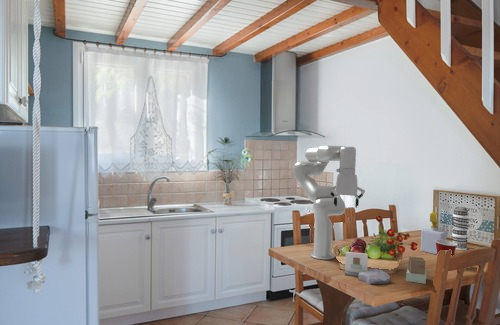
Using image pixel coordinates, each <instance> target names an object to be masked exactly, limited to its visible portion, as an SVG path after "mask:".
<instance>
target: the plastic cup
mask: <svg viewBox="0 0 500 325" xmlns="http://www.w3.org/2000/svg"><path fill="white" fill-rule="evenodd" d="M435 243H436V249H437V254H438V252H439V251H440V250H449V249H451V250H452V254H451V255H452V256H453V255H455V251H456V250H457V249H456V246H457V245H458V244H457V243H455V242H452V240H440V239H437V240H435ZM453 257H454V256H453Z"/></svg>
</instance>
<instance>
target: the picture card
mask: <svg viewBox="0 0 500 325" xmlns="http://www.w3.org/2000/svg"><path fill="white" fill-rule="evenodd" d="M368 257H369V254H368V253H363V252H351V251H346V252H345V259H344V260H345V261H344V262H345V263H344V264H345V265H344V276H351V277H358V276H359V273H360V272H367V271H368V265H369V264H368V263H369V260H368V259H369V258H368Z"/></svg>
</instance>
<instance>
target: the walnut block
mask: <svg viewBox="0 0 500 325" xmlns="http://www.w3.org/2000/svg"><path fill="white" fill-rule="evenodd" d="M407 260H408V261H407V269H408V270H409V272H410V273H415V274H425V271H426V260H425V259H424V257H421V256H412V255H411V256H409V255H408V259H407Z"/></svg>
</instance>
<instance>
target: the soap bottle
mask: <svg viewBox="0 0 500 325" xmlns="http://www.w3.org/2000/svg"><path fill="white" fill-rule="evenodd" d="M438 214H439V212H437V211H432V212H431V213H430V214H429V222H431V224H432V225H431V226H430V228H424V229H421V234H420V251H421V252H425V253H428V254H433V255H436V256H437V249H436V243H435V240H437V239H440V240H447V239H448V232H447V231H443V230H438V226H437V224H438V223H439V221H437V219H436V217H437V215H438ZM447 241H448V240H447Z"/></svg>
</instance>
